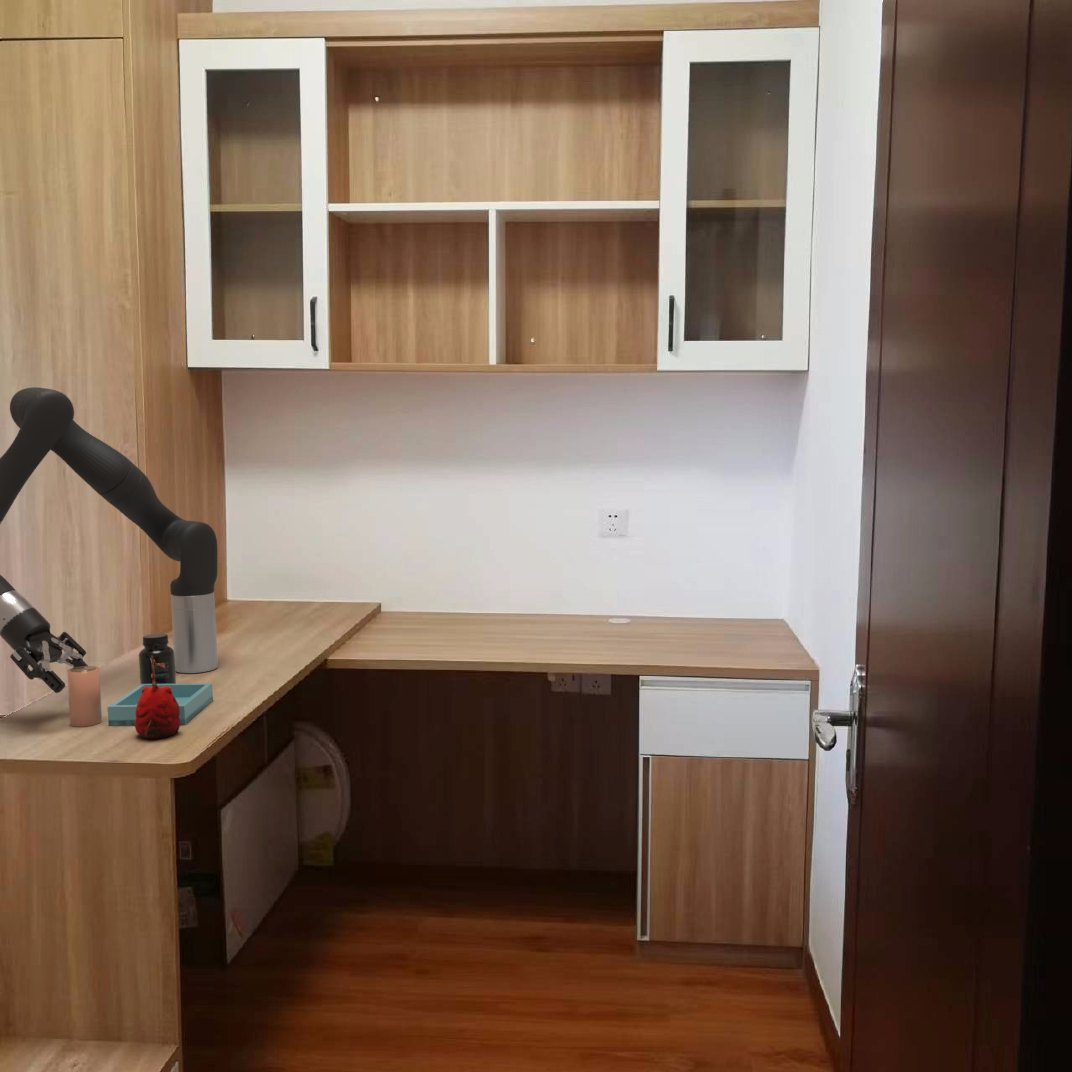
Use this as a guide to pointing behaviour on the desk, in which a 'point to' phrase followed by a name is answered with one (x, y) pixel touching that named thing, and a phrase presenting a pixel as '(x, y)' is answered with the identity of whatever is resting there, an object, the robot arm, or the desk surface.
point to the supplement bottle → (157, 660)
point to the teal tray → (186, 695)
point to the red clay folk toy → (157, 710)
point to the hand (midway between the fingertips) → (76, 683)
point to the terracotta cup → (84, 696)
